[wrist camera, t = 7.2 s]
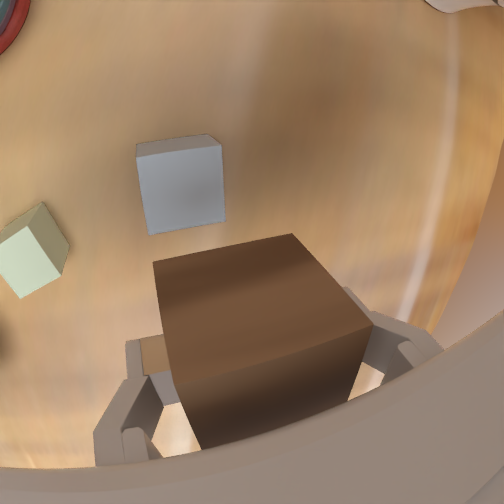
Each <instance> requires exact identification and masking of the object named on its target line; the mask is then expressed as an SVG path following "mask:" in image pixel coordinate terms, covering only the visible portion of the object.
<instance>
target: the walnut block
mask: <svg viewBox="0 0 504 504" xmlns="http://www.w3.org/2000/svg"><path fill="white" fill-rule="evenodd" d="M153 268H154V276H155V283H156V290H157V297H158V303H159V309H160V316H161V322H162V327H163V333H164V339H165V344H166V349H167V354H168V360H169V365H170V369H171V374H172V379H173V383H174V387H175V389H176V392H177V394H178V397H179V399H180V402H181V404H182V406H183V409H184V411H185V413H186V416H187V418H188V420H189V423H190V425H191V427H192V430H193V432H194V434H195V436H196V438H197V441H198V443H199V445H200V447H201V449H202V450H204V449H209V448H213V447H217V446H221V445H224V444H228V443H232V442H236V441H239V440H243V439H246V438H249V437H253V436H256V435H259V434H262V433H266V432H269V431H272V430H275V429H278V428H281V427H283V426H286V425H289V424H292V423H295V422H297V421H300V420H303V419H305V418H308V417H311V416H313V415H316V414H318V413H321V412H323V411H326V410H328V409H331V408H333V407H335V406H338V405H340V404H342V403H345V402H347V400H348V397H349V395H350V392H351V390H352V387H353V384H354V382H355V379H356V376H357V374H358V371H359V368H360V365H361V362H362V359H363V356H364V353H365V350H366V347H367V344H368V341H369V338H370V335H371V332H372V329H373V325H374V324H373V322H372V321H371V320H370V319H369V318H368V317H367V315H366V314H365V313H364V312H363V311H362V310H361V309H360V308H359V306H358V305H357V304H356V303H355V302H354V301H353V300H352V298H351V297H350V296H349V295H348V294H347V293H346V292H345V291H344V289H343V288H342V287H341V286H340V285H339V284H338V283H337V282H336V281H335V279H334V278H333V277H332V276H331V275H330V274H329V273H328V272H327V271H326V269H325V268H324V267H323V266H322V265H321V264H320V263H319V262H318V261H317V260H316V259H315V257H314V256H313V255H312V254H311V253H310V252H309V251H308V250H307V249H306V248H305V247H304V246H303V244H302V243H301V242H300V241H299V240H298V239H297V238H296V237H295V236H294V235H293V234H292V233H291V234H286V235H281V236H276V237H271V238H266V239H261V240H256V241H251V242H246V243H241V244H236V245H231V246H226V247H222V248H217V249H212V250H207V251H202V252H197V253H193V254H188V255H183V256H178V257H173V258H169V259H164V260H159V261H154V262H153Z"/></svg>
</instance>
